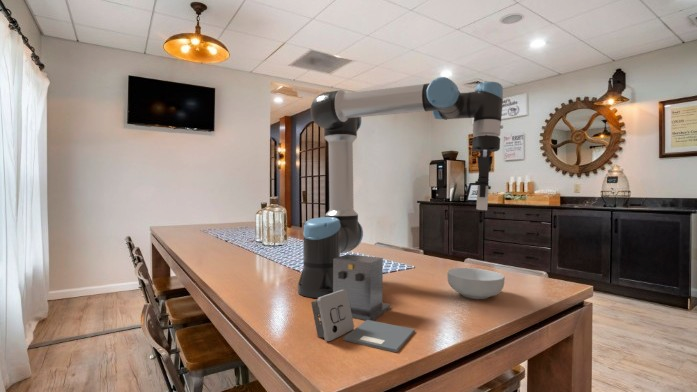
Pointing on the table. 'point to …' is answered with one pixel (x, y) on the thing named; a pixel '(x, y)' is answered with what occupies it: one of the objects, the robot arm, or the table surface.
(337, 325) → the electrical switch
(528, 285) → the table surface
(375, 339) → the pad
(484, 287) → the cereal bowl
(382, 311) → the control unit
